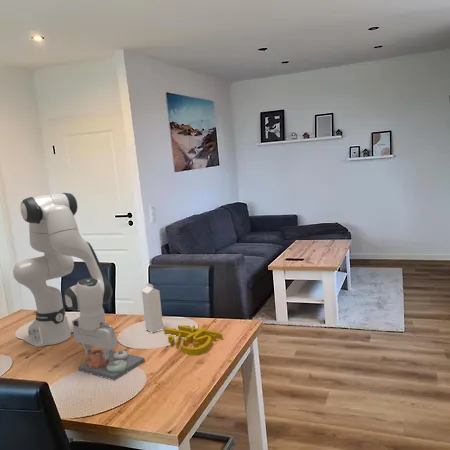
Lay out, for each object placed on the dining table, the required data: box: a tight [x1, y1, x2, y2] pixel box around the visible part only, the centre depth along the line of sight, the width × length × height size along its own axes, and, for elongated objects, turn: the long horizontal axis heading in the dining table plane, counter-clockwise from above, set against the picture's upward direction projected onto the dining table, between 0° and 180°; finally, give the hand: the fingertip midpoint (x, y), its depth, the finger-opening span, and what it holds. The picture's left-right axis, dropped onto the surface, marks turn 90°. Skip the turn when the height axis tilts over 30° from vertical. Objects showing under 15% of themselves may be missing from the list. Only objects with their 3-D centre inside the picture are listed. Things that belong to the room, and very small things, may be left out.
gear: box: [86, 349, 109, 368], centre depth 164 cm, size 8×8×5 cm
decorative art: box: [163, 324, 224, 356], centre depth 184 cm, size 21×3×30 cm
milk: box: [141, 282, 164, 333], centre depth 198 cm, size 6×6×22 cm
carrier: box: [77, 349, 146, 381], centre depth 165 cm, size 19×16×6 cm
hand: (97, 356), depth 164 cm, fingers open, 8 cm apart
